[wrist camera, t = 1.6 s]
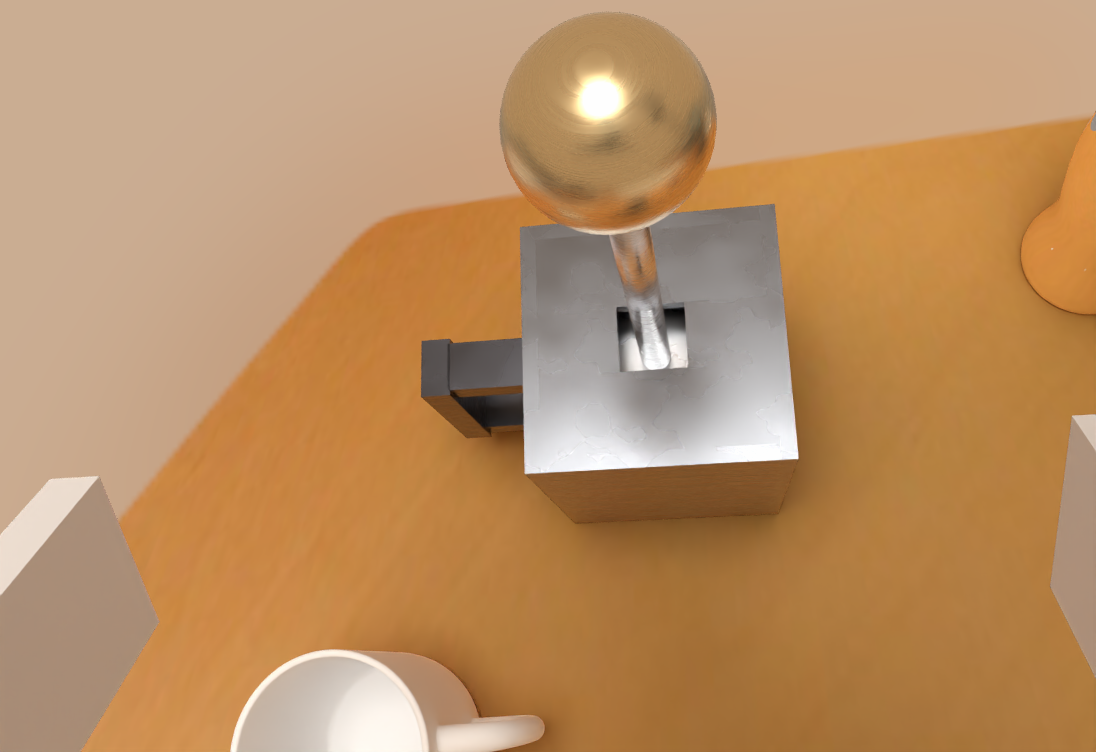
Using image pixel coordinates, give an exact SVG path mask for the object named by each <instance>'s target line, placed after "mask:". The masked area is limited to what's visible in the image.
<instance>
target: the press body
mask: <svg viewBox="0 0 1096 752" xmlns="http://www.w3.org/2000/svg"><path fill="white" fill-rule="evenodd" d="M650 230H651V236H652V242H653V248H654V254H655V260H656V267H657V273H658V279H659V285H660V291H661V298H662V304H663V309H666V308H679V307H684V308H685V324H686V339H687V354H688V367H684V368H669V369H655V370H640V371H626V372H620V353H619V331H618V312H627V311H629V310H628V307H627V303H626V299H625V295H624V291H623V287H622V283H621V280H620V276H619V272H618V268H617V264H616V260H615V257H614V253H613V249H612V245H611V241H610V237H609V235H597V234H588V233H584V232H580V231H576V230H573V229H571V228H568V227H565V226H563V225H561V224H550V225H539V226H528V227H520V253H521V305H522V338H517V339H503V340H490V341H477V342H463V343H453V342H452V341H451V340H450V339H442V340H429V341H422V365H421V397H422V398H423V399H424V400H425V401H426V402H427V403H429V404H430V405H431V406H432V407H433V408H434V409H435V410H436V411H437V412H439V413H440V414H441V415H442V416H443V417H444V418H445V419H446V420H448V421H449V422H450V423H451V424H452V425H453V426H454V427H455V428H456V429H458V430H459V431H460V432H461V433H462V434H463V435H464V436H465V437H466V438H478V437H492V435H491V433H493V432H510V431H524V461H525V475H526V476H527V477H528V478H529V479H531V480H532V481H533V482H534V483H535V484H536V485H537V486H538V487H539V488H540V489H541V490H542V491H543V492H544V493H545V494H546V495H547V496H548V497H549V498H550V499H551V500H552V501H553V502H554V503H555V504H556V505H557V506H558V507H559V508H560V509H561V510H562V511H563V512H564V513H565V514H566V515H567V516H568V517H569V518H570V519H571V520H572V521H573V522H574V523H593V522H614V521H635V520H657V519H678V518H699V517H720V516H741V515H762V514H778V513H779V510H780V507H781V504H782V502H783V499H784V496H785V494H786V491H787V488H788V486H789V483H790V480H791V478H792V475H793V472H794V470H795V467H796V464H797V462H798V459H799V458H798V447H797V437H796V426H795V415H794V405H793V394H792V384H791V373H790V362H789V352H788V341H787V330H786V320H785V309H784V299H783V288H782V277H781V267H780V256H779V246H778V235H777V224H776V214H775V204H770V205H759V206H748V207H737V208H726V209H715V210H704V211H693V212H682V213H671V214H669V215H668V216H667V217H665V218H664V219H662V220H660V221H658V222H657V223H655V224H653V225H651V226H650Z"/></svg>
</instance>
